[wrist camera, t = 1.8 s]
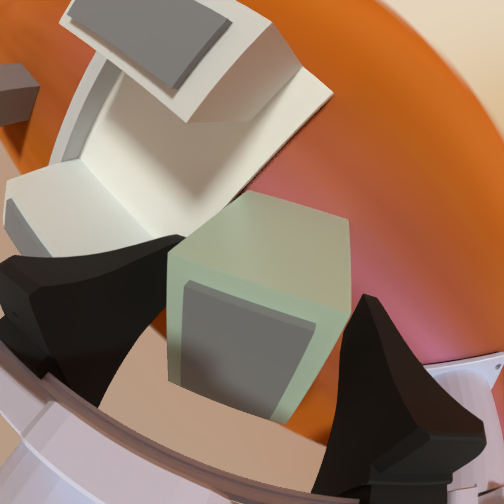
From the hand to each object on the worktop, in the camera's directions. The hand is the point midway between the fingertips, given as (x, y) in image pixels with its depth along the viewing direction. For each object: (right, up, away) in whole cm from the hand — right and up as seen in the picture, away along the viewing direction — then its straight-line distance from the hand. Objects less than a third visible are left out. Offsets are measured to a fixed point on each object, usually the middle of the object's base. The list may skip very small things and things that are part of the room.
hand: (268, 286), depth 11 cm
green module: (+1, +1, +2) cm, 3 cm away
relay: (-18, +14, +2) cm, 23 cm away
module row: (-5, +7, +1) cm, 9 cm away
